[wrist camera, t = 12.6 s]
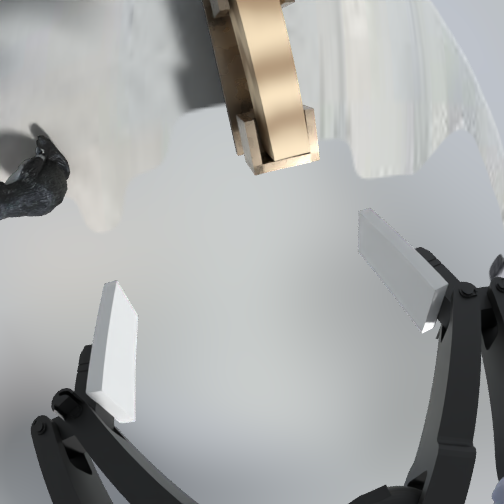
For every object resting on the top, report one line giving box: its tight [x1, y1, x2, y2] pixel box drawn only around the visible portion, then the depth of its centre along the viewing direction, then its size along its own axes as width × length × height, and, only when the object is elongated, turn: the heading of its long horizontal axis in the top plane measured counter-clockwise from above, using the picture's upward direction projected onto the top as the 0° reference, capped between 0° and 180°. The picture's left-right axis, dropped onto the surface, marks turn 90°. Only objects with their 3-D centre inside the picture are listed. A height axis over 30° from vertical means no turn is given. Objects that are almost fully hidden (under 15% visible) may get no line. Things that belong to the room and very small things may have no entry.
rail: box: [228, 0, 310, 161], centre depth 27 cm, size 20×4×5 cm, turn 13°
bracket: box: [202, 0, 320, 175], centre depth 30 cm, size 25×8×10 cm, turn 11°
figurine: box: [0, 136, 70, 220], centre depth 29 cm, size 10×10×15 cm
